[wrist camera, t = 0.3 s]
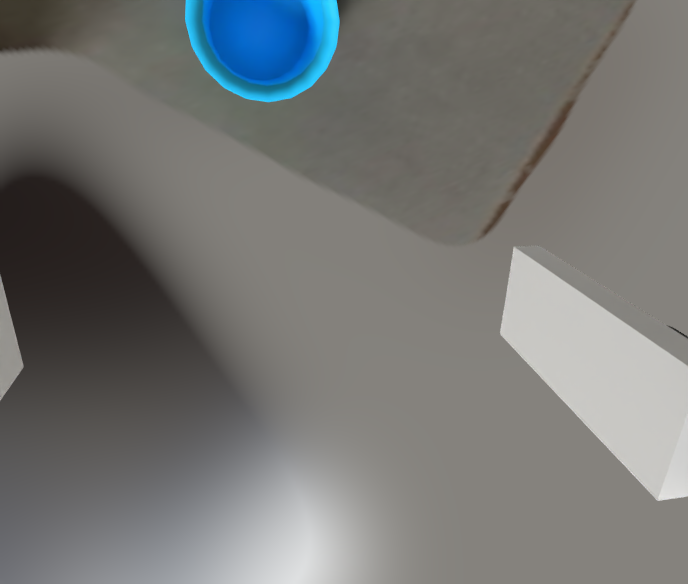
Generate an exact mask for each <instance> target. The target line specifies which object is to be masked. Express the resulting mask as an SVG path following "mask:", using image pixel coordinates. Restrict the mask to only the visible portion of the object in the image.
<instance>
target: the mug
mask: <svg viewBox="0 0 688 584" xmlns="http://www.w3.org/2000/svg"><path fill="white" fill-rule="evenodd" d="M185 21H186V25H187V29H188V33H189V37H190V41H191V45H192V48H193V50H194V51H195V53H196V55H197V56H198V58H199V60H200V62H201V63H202V65H203V67H204V68H205V70H206V71H207V72H208V73H209V74H210V75H211V76H212V77H213V78H214V79H215V80H216V81H217V82H219V83H220V84H221V85H222V86H223V87H224V88H225V89H227V90H229V91H231V92H233V93H235V94H237V95H239V96H241V97H243V98H245V99H251V100H258V101H265V102H272V101H278V100H283V99H289V98H292V97H294V96H296V95H297V94H299V93H301V92H303V91H304V90H306V89H308V88H310V87H311V86H312V85H313V84H314V83H315V82H316V80H317V79H318V78H319V77H320V76H321V75H322V74H323V73H324V71H325V70H326V69H327V67H328V64H329V62H330V60H331V58H332V56H333V53H334V51H335V49H336V45H337V38H338V30H339V23H340V20H339V14H338V7H337V0H186V13H185Z"/></svg>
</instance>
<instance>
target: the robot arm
mask: <svg viewBox="0 0 688 584" xmlns="http://www.w3.org/2000/svg"><path fill="white" fill-rule="evenodd" d="M500 335H502V337H503V338H504V339H505V340H506V341H507V342H508V343H509V344H510V345H511V346H512V347H513V348H514V349H515V350H516V351H517V352H518V353H519V355H520V356H521V357H522V358H523V359H524V360H525V361H526V362H527V363H528V364H529V365H530V366H531V367H532V368H533V369H534V370H535V372H536V373H537V374H538V375H539V376H540V377H541V378H542V379H543V380H544V381H545V382H546V383H547V384H548V385H549V386H550V387H551V388H552V389H553V391H554V392H555V393H556V394H557V395H558V396H559V397H560V398H561V399H562V400H563V401H564V402H565V403H566V404H567V405H568V406H569V407H570V408H571V410H572V411H573V412H574V413H575V414H576V415H577V416H578V417H579V418H580V419H581V420H582V421H583V422H584V423H585V424H586V425H587V427H589V429H590V430H591V431H592V432H593V433H594V434H595V435H596V436H597V437H598V438H599V439H600V440H601V441H602V442H603V443H604V444H605V446H606V447H607V448H608V449H609V450H610V451H611V452H612V453H613V454H614V455H615V456H616V457H617V458H618V459H619V460H620V461H621V463H623V465H624V466H625V467H627V469H628V470H629V471H630V472H631V473H632V474H633V475H634V476H635V477H636V478H637V479H638V480H639V481H640V483H641V484H642V485H643V486H644V487H645V488H646V489H647V490H648V491H649V492H650V493H651V494H652V495H653V496H654V497H655V498H656V500H666V499H673V498H680V497H687V496H688V337H687V336H686V335H684V334H683V333H681V332H679V331H678V330H676V329H674V328H672V327H670V326H667V325H665V324H664V323H662V322H660V321H659V320H657V319H656V318H654V317H652V316H651V315H649V314H647V313H646V312H644V311H643V310H641V309H640V308H638V307H636V306H635V305H633V304H631V303H630V302H628V301H627V300H625V299H624V298H622V297H620V296H619V295H617V294H616V293H614V292H612V291H611V290H609V289H608V288H606V287H604V286H603V285H601V284H600V283H598V282H596V281H595V280H593V279H592V278H590V277H588V276H587V275H585V274H583V273H582V272H580V271H579V270H577V269H576V268H574V267H573V266H571V265H569V264H568V263H566V262H565V261H563V260H561V259H560V258H558V257H556V256H555V255H553V254H551V253H550V252H549V251H547V250H545V249H544V248H542V247H541V246H520V247H519V246H518V247H514V250H513V256H512V262H511V269H510V275H509V281H508V287H507V294H506V300H505V306H504V312H503V318H502V325H501V331H500ZM22 368H23V363H22V359H21V355H20V351H19V347H18V343H17V339H16V335H15V331H14V328H13V323H12V320H11V315H10V312H9V308H8V304H7V300H6V296H5V292H4V288H3V284H2V280H1V276H0V400H1V399H2V397H3V396H4V394H5V393H6V391H7V390H8V389H9V387H10V386H11V384H12V383H13V381H14V380H15V379H16V377H17V376H18V374H19V373H20V371H21V370H22Z"/></svg>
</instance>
